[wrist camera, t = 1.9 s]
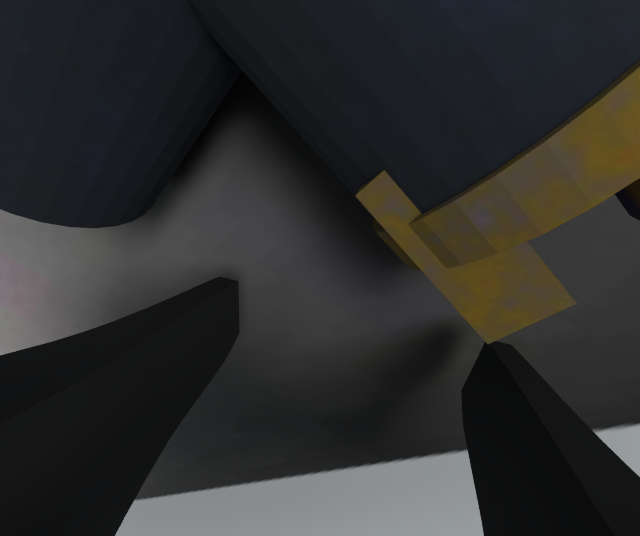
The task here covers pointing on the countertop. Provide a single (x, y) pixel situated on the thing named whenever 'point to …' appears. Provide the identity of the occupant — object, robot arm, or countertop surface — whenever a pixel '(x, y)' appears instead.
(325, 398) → the countertop surface
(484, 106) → the pipe connector
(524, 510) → the robot arm
